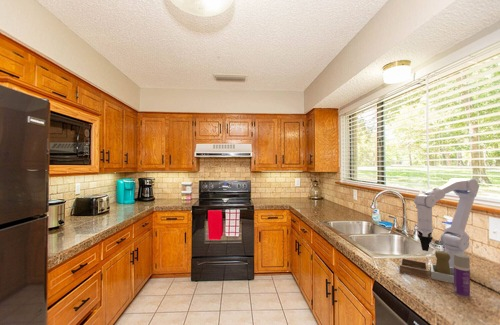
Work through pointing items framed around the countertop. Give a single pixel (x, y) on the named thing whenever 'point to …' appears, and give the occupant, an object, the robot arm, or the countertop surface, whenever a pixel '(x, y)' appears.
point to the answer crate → (441, 274)
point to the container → (461, 275)
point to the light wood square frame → (411, 269)
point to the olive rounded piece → (442, 262)
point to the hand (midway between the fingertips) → (424, 248)
